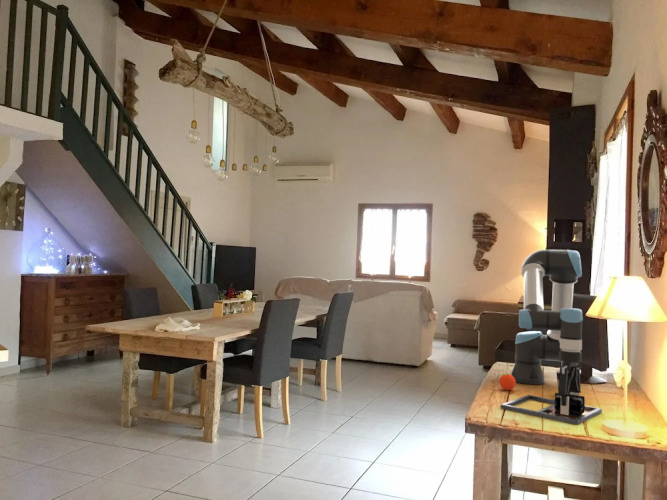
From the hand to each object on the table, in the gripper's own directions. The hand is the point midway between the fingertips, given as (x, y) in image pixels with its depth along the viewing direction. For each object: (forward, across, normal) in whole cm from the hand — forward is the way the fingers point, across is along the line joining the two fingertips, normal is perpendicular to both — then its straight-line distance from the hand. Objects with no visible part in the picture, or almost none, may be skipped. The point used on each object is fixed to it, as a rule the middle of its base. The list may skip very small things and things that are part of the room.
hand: (569, 412), depth 209 cm
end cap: (+1, 0, 0) cm, 1 cm away
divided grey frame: (+1, 0, -7) cm, 7 cm away
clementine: (+1, -20, -35) cm, 40 cm away
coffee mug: (+1, -28, -12) cm, 30 cm away
